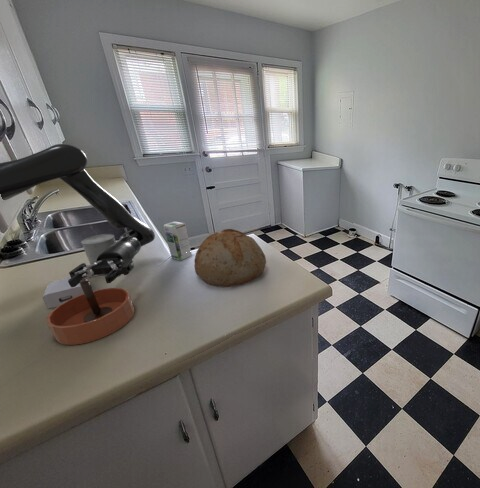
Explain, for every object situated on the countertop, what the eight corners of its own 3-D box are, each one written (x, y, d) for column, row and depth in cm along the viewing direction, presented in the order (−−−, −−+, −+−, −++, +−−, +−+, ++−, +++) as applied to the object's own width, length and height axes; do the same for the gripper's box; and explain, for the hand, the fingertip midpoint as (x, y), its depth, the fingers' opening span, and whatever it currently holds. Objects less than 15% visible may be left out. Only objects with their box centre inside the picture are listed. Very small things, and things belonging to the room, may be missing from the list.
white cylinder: (124, 260, 109) (114, 232, 104) (124, 270, 101) (113, 240, 97) (94, 267, 104) (82, 237, 99) (92, 277, 97) (79, 246, 92)
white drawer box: (91, 278, 96) (87, 298, 85) (57, 286, 91) (47, 309, 80) (87, 266, 94) (81, 285, 83) (51, 274, 89) (40, 295, 78)
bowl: (44, 354, 64) (34, 336, 62) (67, 313, 78) (59, 297, 76) (130, 330, 71) (124, 314, 69) (137, 297, 85) (132, 282, 83)
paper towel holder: (79, 327, 72) (61, 288, 67) (90, 312, 77) (74, 275, 72) (108, 322, 73) (92, 283, 68) (116, 308, 79) (102, 272, 74)
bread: (189, 266, 104) (181, 230, 98) (247, 250, 116) (243, 217, 110) (208, 298, 84) (199, 255, 78) (275, 275, 97) (272, 237, 91)
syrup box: (170, 258, 110) (162, 225, 104) (183, 252, 115) (175, 220, 109) (180, 261, 108) (172, 227, 102) (192, 255, 113) (185, 222, 107)
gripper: (88, 247, 84) (52, 273, 70) (138, 243, 87) (114, 267, 73) (96, 268, 87) (64, 297, 73) (145, 264, 90) (123, 290, 76)
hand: (89, 282), depth 73 cm, fingers open, 8 cm apart
